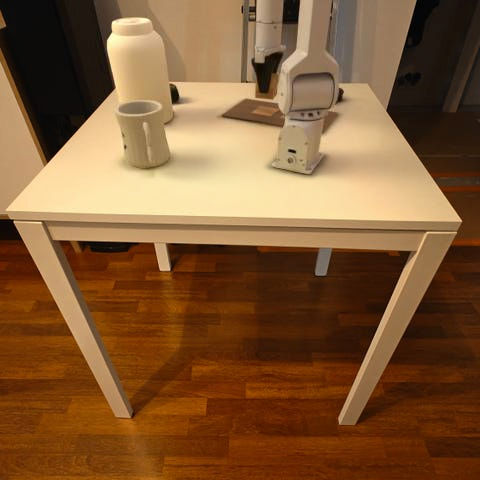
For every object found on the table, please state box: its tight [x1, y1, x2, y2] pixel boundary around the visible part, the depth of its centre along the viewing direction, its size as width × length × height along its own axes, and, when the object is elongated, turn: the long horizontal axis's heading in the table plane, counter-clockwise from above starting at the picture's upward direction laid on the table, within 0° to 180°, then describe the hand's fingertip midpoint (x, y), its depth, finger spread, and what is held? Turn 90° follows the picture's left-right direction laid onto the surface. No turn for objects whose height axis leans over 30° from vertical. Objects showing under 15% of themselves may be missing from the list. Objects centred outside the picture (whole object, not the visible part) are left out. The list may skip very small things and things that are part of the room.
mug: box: [114, 100, 171, 169], centre depth 69 cm, size 12×9×10 cm
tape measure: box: [169, 82, 181, 102], centre depth 98 cm, size 7×7×4 cm
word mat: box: [221, 98, 339, 133], centre depth 91 cm, size 14×26×1 cm, turn 64°
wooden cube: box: [254, 73, 279, 101], centre depth 88 cm, size 4×4×5 cm
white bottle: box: [106, 17, 174, 124], centre depth 83 cm, size 12×12×20 cm
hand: (266, 89), depth 89 cm, fingers closed on wooden cube, 4 cm apart
